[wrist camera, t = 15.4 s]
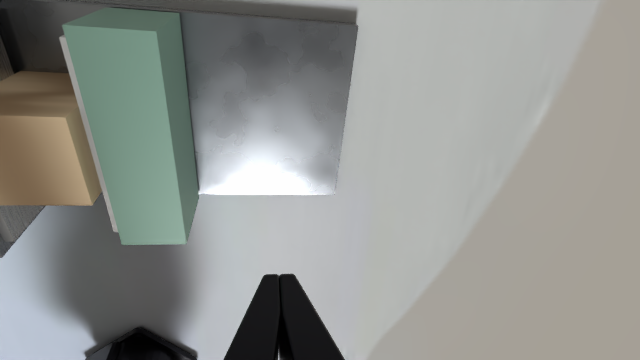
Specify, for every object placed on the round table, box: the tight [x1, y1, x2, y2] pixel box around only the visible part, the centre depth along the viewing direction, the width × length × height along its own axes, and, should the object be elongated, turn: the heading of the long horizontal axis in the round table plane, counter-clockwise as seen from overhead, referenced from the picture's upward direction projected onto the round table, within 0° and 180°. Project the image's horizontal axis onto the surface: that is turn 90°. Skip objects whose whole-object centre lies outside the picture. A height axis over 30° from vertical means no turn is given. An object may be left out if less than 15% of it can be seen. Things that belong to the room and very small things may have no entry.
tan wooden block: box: [0, 71, 102, 205], centre depth 16 cm, size 4×4×5 cm
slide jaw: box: [59, 7, 199, 245], centre depth 17 cm, size 3×10×4 cm, turn 175°
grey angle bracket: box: [0, 0, 358, 258], centre depth 17 cm, size 22×10×6 cm, turn 85°
